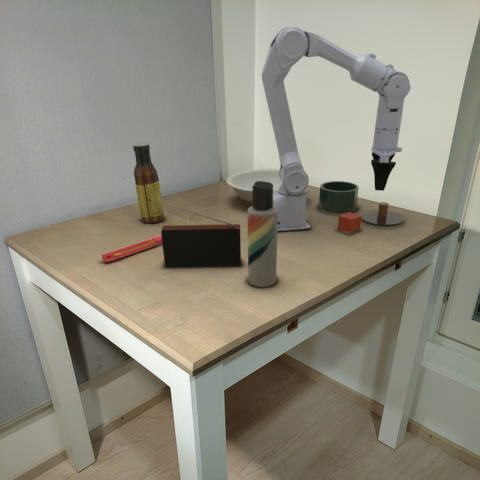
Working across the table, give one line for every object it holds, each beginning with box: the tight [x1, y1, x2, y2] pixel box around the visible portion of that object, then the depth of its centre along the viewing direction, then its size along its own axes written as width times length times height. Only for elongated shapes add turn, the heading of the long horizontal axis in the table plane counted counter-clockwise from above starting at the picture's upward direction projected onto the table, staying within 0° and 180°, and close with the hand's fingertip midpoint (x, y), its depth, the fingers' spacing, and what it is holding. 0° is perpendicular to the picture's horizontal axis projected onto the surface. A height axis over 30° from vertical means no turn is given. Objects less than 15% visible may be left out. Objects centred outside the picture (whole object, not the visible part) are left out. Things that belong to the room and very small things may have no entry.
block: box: [337, 212, 362, 234], centre depth 118 cm, size 4×4×4 cm
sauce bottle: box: [132, 142, 165, 224], centre depth 123 cm, size 7×6×20 cm
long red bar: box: [100, 234, 162, 263], centre depth 112 cm, size 24×2×5 cm
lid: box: [359, 201, 405, 227], centre depth 123 cm, size 11×11×5 cm
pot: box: [318, 180, 360, 214], centre depth 132 cm, size 10×10×6 cm
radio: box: [148, 199, 242, 268], centre depth 100 cm, size 19×3×15 cm, turn 90°
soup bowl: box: [225, 168, 282, 204], centre depth 139 cm, size 24×24×7 cm
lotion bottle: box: [247, 181, 278, 288], centre depth 91 cm, size 6×6×20 cm
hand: (379, 185), depth 118 cm, fingers open, 7 cm apart
